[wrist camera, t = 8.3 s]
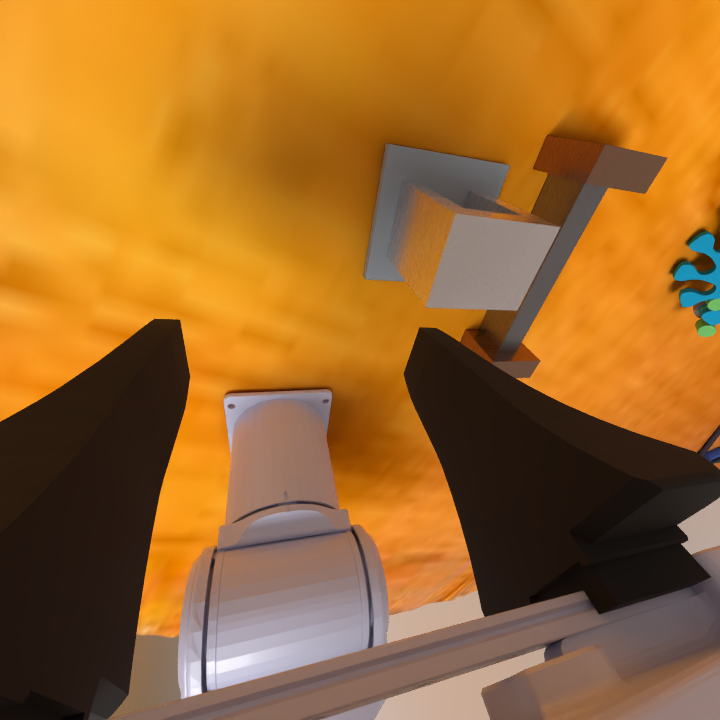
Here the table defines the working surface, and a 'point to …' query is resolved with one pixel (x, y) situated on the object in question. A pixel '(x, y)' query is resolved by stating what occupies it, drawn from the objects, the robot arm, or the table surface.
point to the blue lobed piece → (711, 303)
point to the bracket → (466, 249)
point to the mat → (434, 172)
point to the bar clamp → (714, 454)
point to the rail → (560, 235)
